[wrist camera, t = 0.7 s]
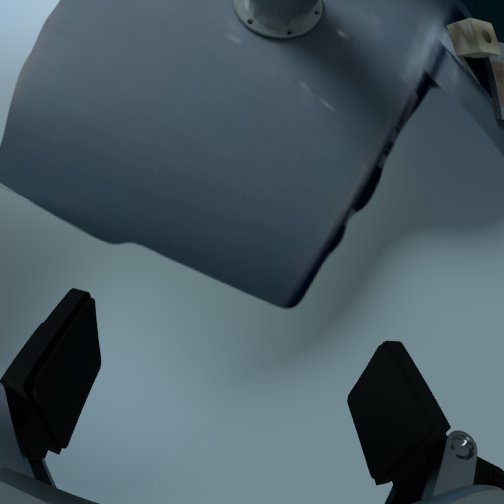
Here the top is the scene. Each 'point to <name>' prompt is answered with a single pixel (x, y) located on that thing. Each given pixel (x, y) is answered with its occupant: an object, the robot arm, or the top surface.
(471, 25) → the maple block
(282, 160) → the top surface
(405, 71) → the top surface
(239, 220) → the top surface
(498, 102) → the press
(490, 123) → the top surface
